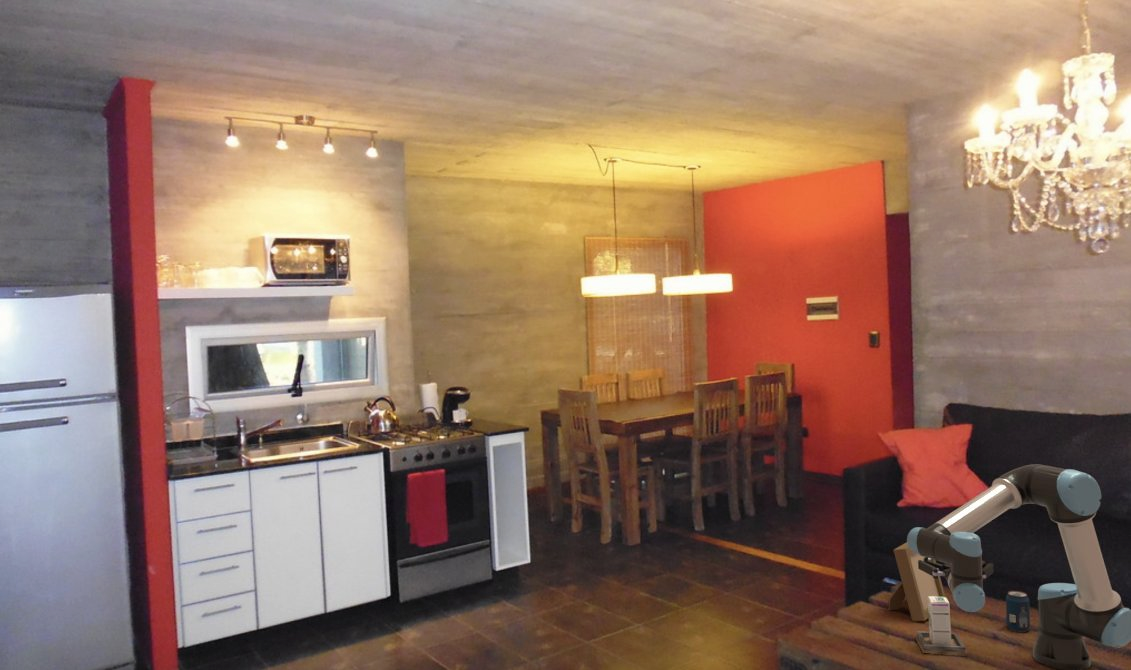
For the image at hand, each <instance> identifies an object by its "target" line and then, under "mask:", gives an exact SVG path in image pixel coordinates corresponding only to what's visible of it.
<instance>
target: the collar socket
mask: <svg viewBox="0 0 1131 670" xmlns="http://www.w3.org/2000/svg"><path fill="white" fill-rule="evenodd" d="M915 637H916V638H915ZM914 638H915V641H916V642H917V644H918V647H919V649H920V648H921V649H920V650H922V651H921V653H922V652H923V653H931V654H930V655H934V654H939V655H938V656H953V655H954V656H955V657H957V656H959V657H968V656H969V652H968V651H967V650H966V646H965V645H964V643H963V641H962V640H961V638H960V636H959V634H957V632H951V646H948V645H932V644H931V642H930V639H929V631H923V630H922V631H920V630H916V634H915V635H914ZM923 653H922V654H923ZM941 654H943V655H941Z"/></svg>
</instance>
